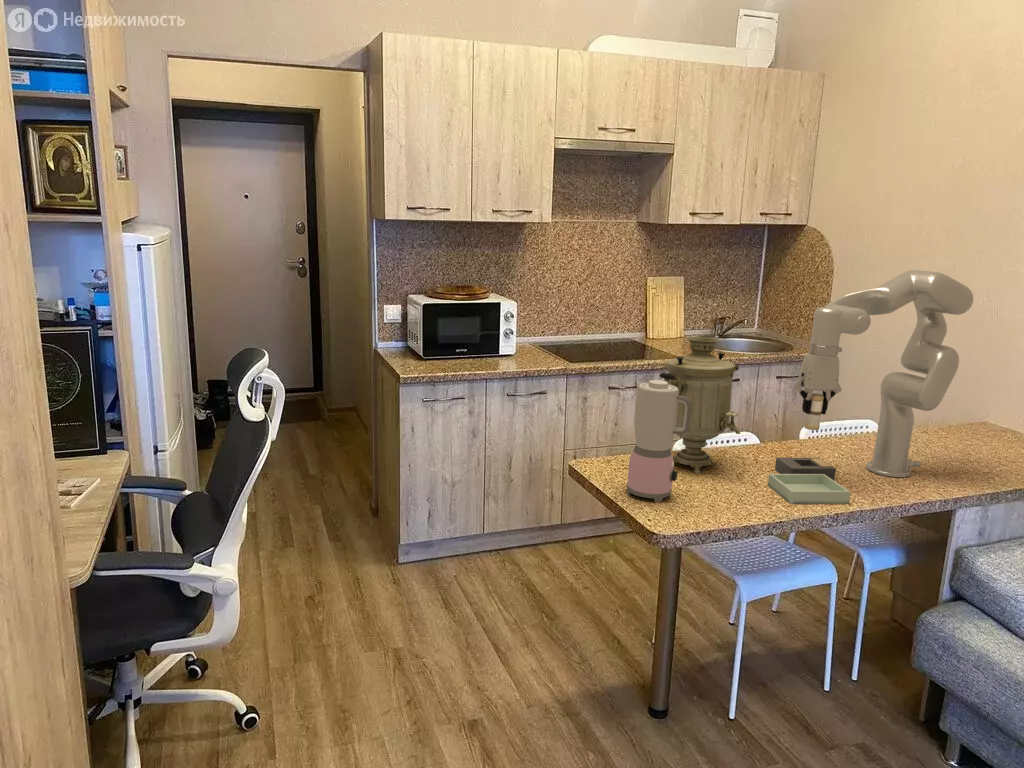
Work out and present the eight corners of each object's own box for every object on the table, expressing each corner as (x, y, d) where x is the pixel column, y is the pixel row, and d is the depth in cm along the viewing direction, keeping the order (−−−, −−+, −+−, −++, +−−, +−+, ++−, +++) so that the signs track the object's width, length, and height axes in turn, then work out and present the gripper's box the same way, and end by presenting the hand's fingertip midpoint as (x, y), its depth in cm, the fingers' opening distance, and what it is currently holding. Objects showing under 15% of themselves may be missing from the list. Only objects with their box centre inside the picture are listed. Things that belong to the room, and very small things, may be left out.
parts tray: (822, 485, 217) (824, 474, 216) (848, 503, 203) (850, 491, 202) (767, 485, 215) (769, 473, 214) (790, 503, 201) (791, 491, 200)
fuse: (814, 426, 216) (819, 393, 214) (821, 430, 212) (826, 396, 210) (801, 426, 216) (806, 393, 214) (808, 430, 212) (813, 396, 210)
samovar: (680, 488, 209) (693, 350, 200) (632, 459, 233) (642, 334, 224) (763, 478, 220) (780, 347, 211) (709, 451, 244) (722, 332, 235)
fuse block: (817, 469, 230) (819, 457, 229) (834, 481, 220) (836, 467, 220) (774, 469, 229) (776, 456, 228) (789, 481, 219) (791, 467, 218)
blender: (619, 496, 202) (628, 382, 194) (634, 482, 212) (643, 374, 205) (675, 509, 194) (686, 391, 187) (688, 494, 205) (699, 383, 197)
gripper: (844, 349, 213) (834, 410, 217) (789, 347, 212) (780, 408, 216) (858, 354, 206) (848, 417, 210) (801, 352, 205) (791, 415, 209)
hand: (813, 412), depth 213 cm, fingers closed on fuse, 4 cm apart
